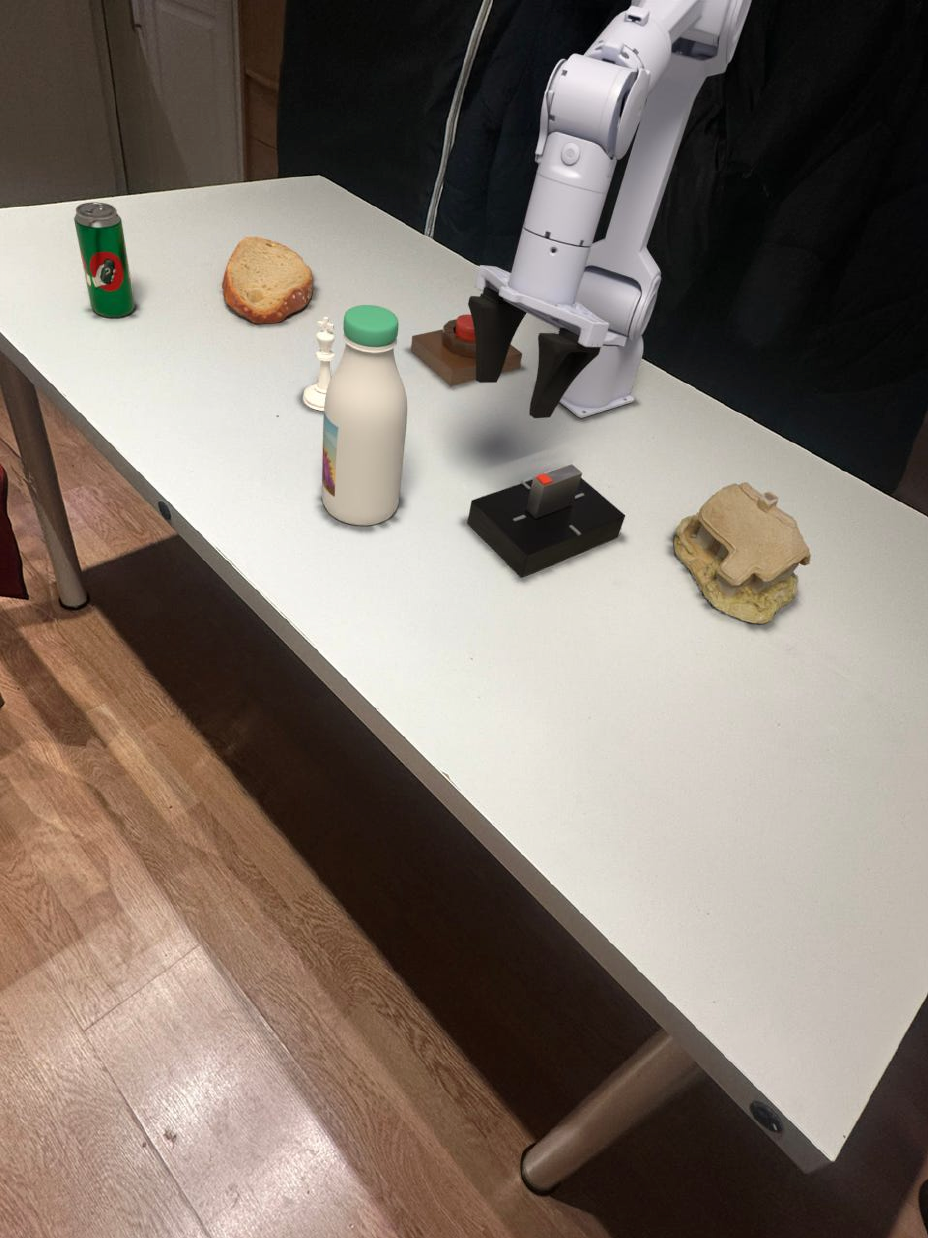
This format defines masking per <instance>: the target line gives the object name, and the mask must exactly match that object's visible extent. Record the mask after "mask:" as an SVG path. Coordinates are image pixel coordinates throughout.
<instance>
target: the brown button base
mask: <svg viewBox="0 0 928 1238" xmlns="http://www.w3.org/2000/svg"><path fill="white" fill-rule="evenodd" d="M456 321H457V318H456V319H455V318H454V319H451V320H448V321H447V322H446V323H444V325H443V327H442V329H437V330H433V331H427V332H424V333H420V334H419V333H418V334H415V335H412V336H411V344H410V352H411V353H412V354H413V355H414V356H415V357H416V358H417V359H419V360H420V361H421V363H423V364H424V365H425V366H426V367H428V368H429V369H430V370H431V371H432V372H433V373H434V374H435V375H437V376H438V377H439V378H440V379H441V380H443V381H444V382H445V383H446V384H447V385H448V386H449V387H454V386H458V385H461V384H466V383H470V382H473V381H476V341H475V340H468V339H464V338H461V337H459V336H457V335H456V334H455V329H456ZM522 359H523V353H522V352H521V351H520V350H519V349H518V348H516V347H515V346H514V345H513V344H512V343H511V344H510V347H509V350H508V353H507V356H506V359H505V363H504V366H503V369H502V372H501V374H504V373H508V372H511V371H515V370H519V369H520V367H521V363H522Z"/></svg>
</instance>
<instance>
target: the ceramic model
mask: <svg viewBox="0 0 928 1238" xmlns="http://www.w3.org/2000/svg"><path fill="white" fill-rule="evenodd" d="M778 502H779V497H778V496H777V495H776V494H774V492H772V491H766V492H764V493H762V494H761V493H760V492H759V491H758V490H757V489H755V487H753V486H752V485H750V483H748V481H745V482H741V483H739V484H737V483H730V484H729V485H726V486H723V487H722V488H721V489H719V490H718V491H716V492H715V493H714V494H712V495H711V496H710V497H709V498H708V499H707V500H706V501H705V502H704V503H703V504H702V505H701V507H700V508H699V510H698V511H697V512H696V513H695V514H692V515H689V516H686V517H684V518H682V519H681V521H680V522H679V524H678V525H677V527H676V529H675V535H674V536H675V537H674V539H673V546H674V548H673V549H674V552H675V555H676V556H677V558H678V559H679V560H680V561H681V562H682V563H683V564H684V565H685V566H686V567H687V568H688V569H689V571H690V572H691V575H692V576H693V577H694V579H695V581H696V583H697V584H698V586H699V588H700V589H701V592H702V594H703V596H704V597H705V598H706V599H707V600H708V601H709V603H711V604H712V606H713V607H715V609H717V610H718V611H720V612H722V613H724V614H726V615H729V616H731V617H734V618H738V619H740V620H742V621H745V622H748V623H753V624H767V623H769V622H771V621H772V619H773V618H774V616H775V614H776V613H777V612H778V611H779V610H780V609H781V608H783V607H784V606H786V605H788V604H789V603H791V602H792V601H793V600H794V599H795V598H796V596H797V593H798V591H799V590H798V584H799V576H798V575H797V574H796V573H795V571H796V569H797V568H798V567H799V565H802V566H808V565H810V563H811V561H812V560H811V557H812V554H811V551H810V547H809V546H808V545H807V542H806V541H805V540H804V537H803V534H801V531H800V528H799V527H798V522H797V521H796V519H795V518H794V517H793V516H792V515H790V514H788V513H786V512H785V511H784V510H783V509H781V508H779V507H778V506H777V504H778Z"/></svg>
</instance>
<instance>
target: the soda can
mask: <svg viewBox="0 0 928 1238" xmlns="http://www.w3.org/2000/svg"><path fill="white" fill-rule="evenodd" d="M75 212H76V213H75V215H74V217H73V222H74V226H75V231H76V236H77V242H78V247H79V253H80V257H81V258H80V259H81V263H82V267H83V268H82V269H83V272H84V278H85V282H86V283H85V284H86V287H87V292H88V298H89V303H90V307H91V309H92V310H93V311H94V312H95V313H97V314H98V315H99V316H102V317H105V318H112V319H113V318H115V319H116V318H122V317H125V316H128V315H129V314H131V313H132V312H133V310H134V309H135V307H136V306H135V298H134V292H133V285H132V277H131V272H130V265H129V259H128V252H127V246H126V239H125V233H124V227H123V222H122V221H123V220H122V217H121V216H120V215H119V214H118V210H117V208H116V207H115V206H113V205H112V204H109V203H105V202H94V201H93V202H85V203H81V204H79V205H77V207H76V208H75Z"/></svg>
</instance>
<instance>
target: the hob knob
mask: <svg viewBox="0 0 928 1238" xmlns="http://www.w3.org/2000/svg"><path fill="white" fill-rule="evenodd" d="M582 475H583V472H582V471H581V470H580V469H579V468H577V466H575V465H574V464H573V463H571V464H569V465H565V466H563V467H560V468H557V469H553V470H551V471H548V472H544V473H540V474H537V475H536V476H534V477H533V478H532V479H533V482H532V486H531V490H530V494H529V498H528V502H527V506H526V511H527V512H529V513H530V514H531V515H532V516H533V517H534V518H535V519H537V518H539V517H542V516H545V515H547V514H550V513H553V512H555V511H558V510H561V509H563V508H566V507H569V506H571V505H573V503H574V500H575V496H576V493H577V490H578V486H579V483H580V479H581V478H582Z"/></svg>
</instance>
